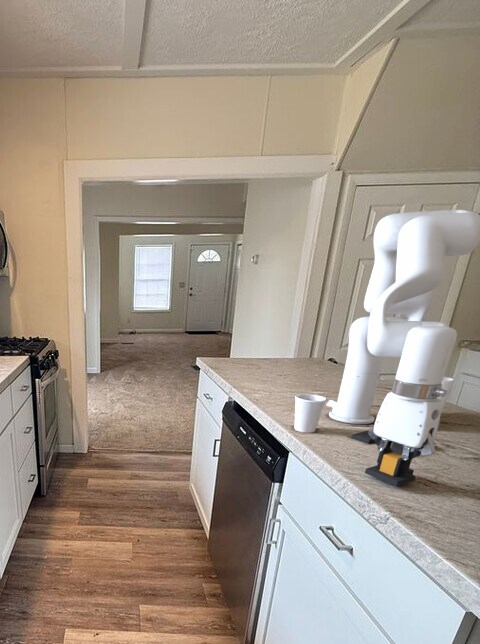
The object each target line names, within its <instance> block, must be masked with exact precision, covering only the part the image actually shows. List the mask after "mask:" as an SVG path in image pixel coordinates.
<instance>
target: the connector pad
mask: <svg viewBox="0 0 480 644" xmlns="http://www.w3.org/2000/svg"><path fill="white" fill-rule="evenodd" d="M401 457H402V455H400V454H397V453H394V452H391V453H387V454H384V456H383V460H382V463H381V467H380V469H378V468H377V465H373V466H370V467H366V468H365V470H364V474H366V475H368V476H371V477H373V478H376V479H378V480H380V481H383V482H385V483H387V484H390V485H392V486H394V487H399V486H402V485H406V484H409V483H412V482H414V481H415V480H416V475H414V473H415V469H413V468H410V467H409V470H408V472H407V473H405V474H403V475H399V476H395V475H394V471H395V468H396V464H397V461H398V459H399V458H401Z"/></svg>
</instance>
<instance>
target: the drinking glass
mask: <svg viewBox="0 0 480 644" xmlns="http://www.w3.org/2000/svg"><path fill="white" fill-rule="evenodd" d="M454 383H455V378H452V377H447V376H444V378H443V381H442V389H443V390H447V394H446V395H445V396H444V397H442V396H439V397H437V399H440V400H441V414H442V413H443V411H444V409H445V407H446V404H447V403H448V400H449V398H450V395H451V392H452V389H453V386H454Z"/></svg>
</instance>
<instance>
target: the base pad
mask: <svg viewBox="0 0 480 644" xmlns="http://www.w3.org/2000/svg"><path fill="white" fill-rule="evenodd" d="M368 431H369V430H365V431H364V430H363V431H359V432H355V433H352V435H351V439H354V440H356V441H359V442H362V443H366V444H372V443H376V442H375V440H374V439H373V438H372V437H371V436H370V435H369V434H368ZM403 447H404V445H402V444H399V443H396V442H394V443H393V445H392V447H391V450H393V451H392V452H394V453H397V454H400V455H402V453H403ZM423 448H424V446H423V445H422V446H421V447H420V448H418V449H423ZM418 449H417V450H418Z"/></svg>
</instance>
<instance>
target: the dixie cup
mask: <svg viewBox="0 0 480 644" xmlns="http://www.w3.org/2000/svg"><path fill="white" fill-rule="evenodd" d="M294 399H295V402H294V403H295V404H294V427H293V429H294V430H295V431H296V432H300V433H305V434H306V433H307V434H309V433H315V432H316V430H317V427H318V423H319V421H320V418H321V416H322V412H323V409H324V407H325V404H326V402H328V401H327V397H325V396H322V395H319V394H312V393H300V394H296V395H295V396H294Z"/></svg>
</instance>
